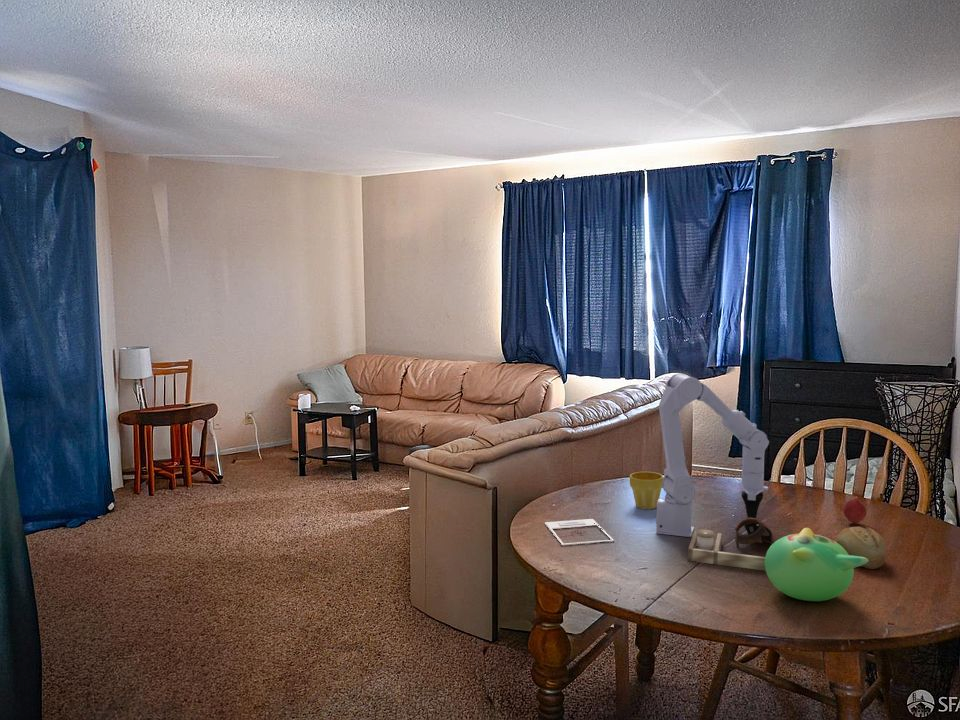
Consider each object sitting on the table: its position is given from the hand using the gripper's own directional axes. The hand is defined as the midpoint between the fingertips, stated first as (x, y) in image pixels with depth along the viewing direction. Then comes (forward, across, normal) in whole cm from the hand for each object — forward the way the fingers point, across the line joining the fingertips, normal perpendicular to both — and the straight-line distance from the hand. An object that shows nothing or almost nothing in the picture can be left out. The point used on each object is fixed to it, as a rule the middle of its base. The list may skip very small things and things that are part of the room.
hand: (751, 518), depth 202 cm
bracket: (+3, -23, +3) cm, 23 cm away
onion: (+3, +13, -27) cm, 30 cm away
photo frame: (+4, -20, +45) cm, 49 cm away
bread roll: (+3, -15, -26) cm, 30 cm away
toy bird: (+3, -43, -13) cm, 45 cm away
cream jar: (+3, -24, +10) cm, 26 cm away
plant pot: (+3, +10, +31) cm, 33 cm away
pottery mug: (+3, -13, -1) cm, 13 cm away
